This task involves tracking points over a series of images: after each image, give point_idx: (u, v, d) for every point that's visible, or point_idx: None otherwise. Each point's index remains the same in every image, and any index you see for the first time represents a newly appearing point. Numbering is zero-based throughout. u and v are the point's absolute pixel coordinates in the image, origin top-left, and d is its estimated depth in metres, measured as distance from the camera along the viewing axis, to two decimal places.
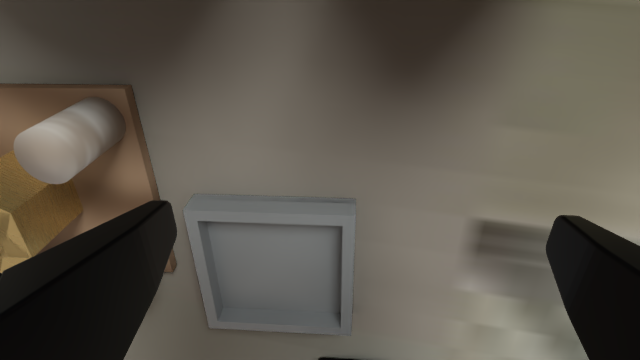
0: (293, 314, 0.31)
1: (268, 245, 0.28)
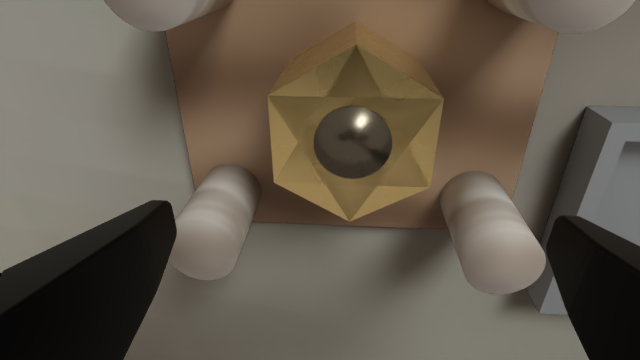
0: None
1: None
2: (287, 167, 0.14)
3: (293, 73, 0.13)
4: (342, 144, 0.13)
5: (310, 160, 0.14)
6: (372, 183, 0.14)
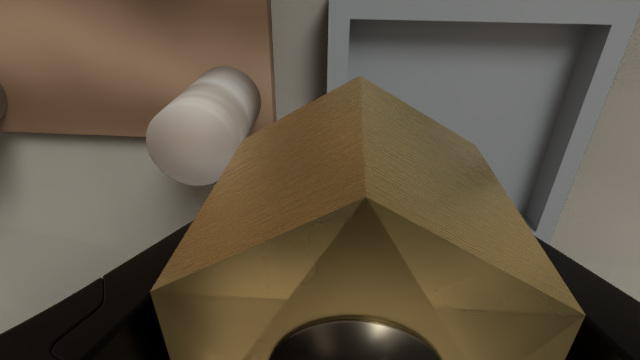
0: None
1: (442, 88, 0.17)
2: None
3: (223, 215, 0.06)
4: None
5: None
6: None
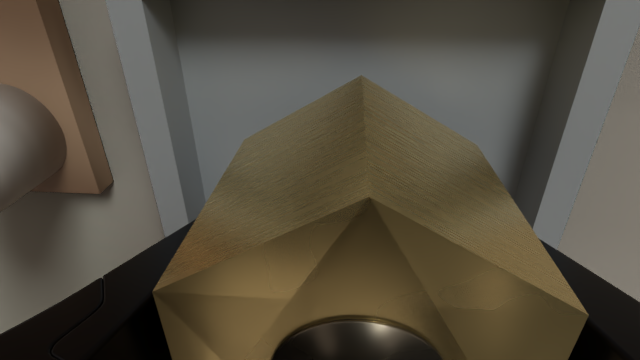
0: None
1: None
2: None
3: (225, 215, 0.06)
4: None
5: None
6: None
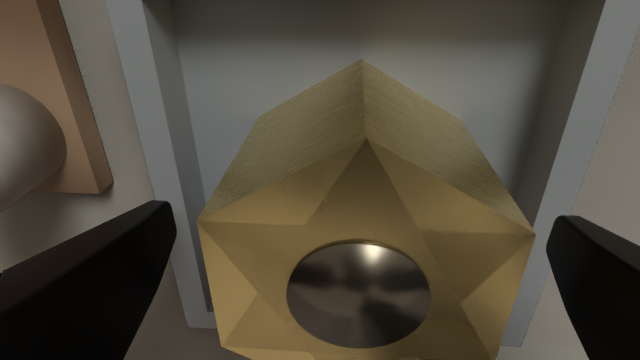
0: None
1: None
2: (242, 327, 0.08)
3: (251, 167, 0.07)
4: (337, 297, 0.07)
5: (283, 317, 0.08)
6: (392, 353, 0.08)
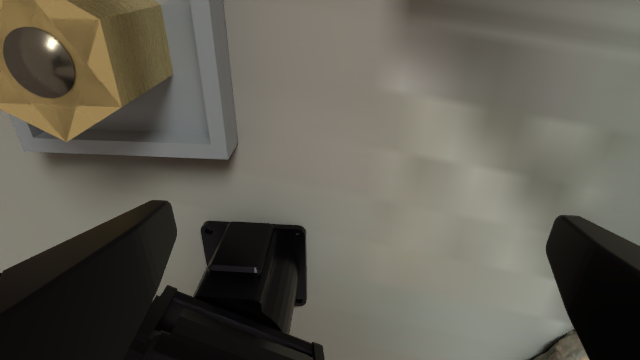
0: (148, 133, 0.21)
1: None
2: None
3: None
4: (32, 64, 0.15)
5: (12, 81, 0.15)
6: (71, 102, 0.15)
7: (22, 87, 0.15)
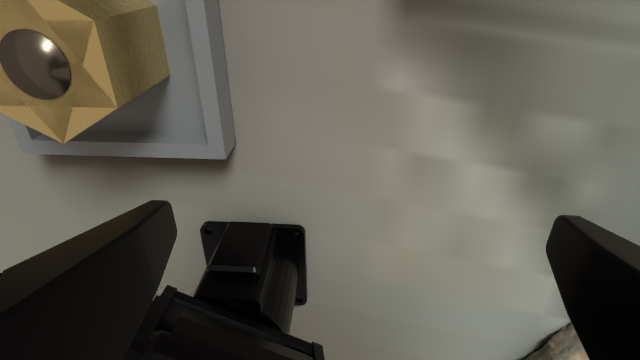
0: (146, 134, 0.21)
1: None
2: None
3: None
4: (28, 66, 0.15)
5: (9, 83, 0.15)
6: (67, 104, 0.15)
7: (18, 89, 0.15)
